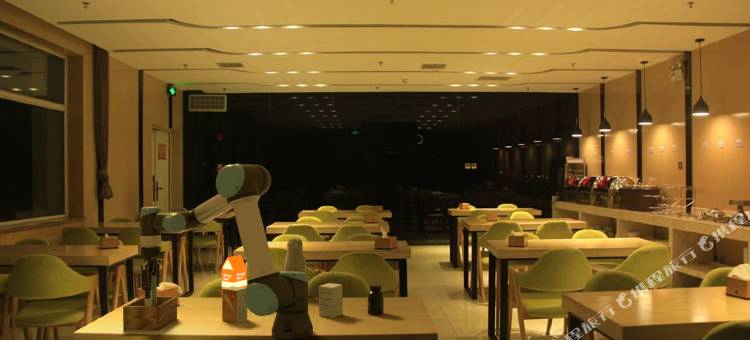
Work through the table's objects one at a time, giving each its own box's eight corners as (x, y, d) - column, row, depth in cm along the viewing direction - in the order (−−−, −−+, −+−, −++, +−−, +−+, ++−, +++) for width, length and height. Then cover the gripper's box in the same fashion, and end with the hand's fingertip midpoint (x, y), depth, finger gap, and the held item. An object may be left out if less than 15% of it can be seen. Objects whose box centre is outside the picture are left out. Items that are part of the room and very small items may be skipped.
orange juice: (246, 297, 277) (246, 255, 277) (233, 301, 270) (233, 258, 270) (235, 295, 281) (235, 254, 281) (221, 299, 274) (221, 256, 274)
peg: (157, 311, 229) (157, 276, 229) (147, 313, 226) (147, 277, 226) (154, 309, 232) (154, 274, 232) (144, 311, 230) (143, 276, 230)
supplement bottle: (364, 314, 242) (364, 285, 242) (372, 311, 248) (372, 283, 249) (379, 316, 239) (379, 287, 239) (386, 312, 245) (386, 284, 245)
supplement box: (328, 312, 246) (328, 282, 247) (343, 314, 243) (343, 284, 243) (318, 316, 240) (318, 285, 240) (333, 318, 236) (332, 287, 236)
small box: (221, 320, 234) (221, 288, 234) (233, 317, 239) (232, 285, 239) (237, 323, 230) (236, 290, 230) (247, 319, 235) (247, 287, 235)
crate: (177, 318, 238) (177, 296, 238) (159, 330, 220) (159, 306, 220) (143, 318, 238) (143, 296, 238) (123, 330, 220) (123, 306, 220)
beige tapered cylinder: (309, 295, 282) (308, 237, 282) (300, 299, 272) (300, 239, 272) (290, 293, 284) (290, 236, 285) (281, 298, 275) (281, 239, 275)
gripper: (150, 243, 238) (150, 300, 238) (131, 248, 221) (131, 310, 221) (168, 243, 238) (168, 300, 238) (151, 248, 221) (151, 310, 221)
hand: (150, 304), depth 229 cm, fingers closed on peg, 4 cm apart
